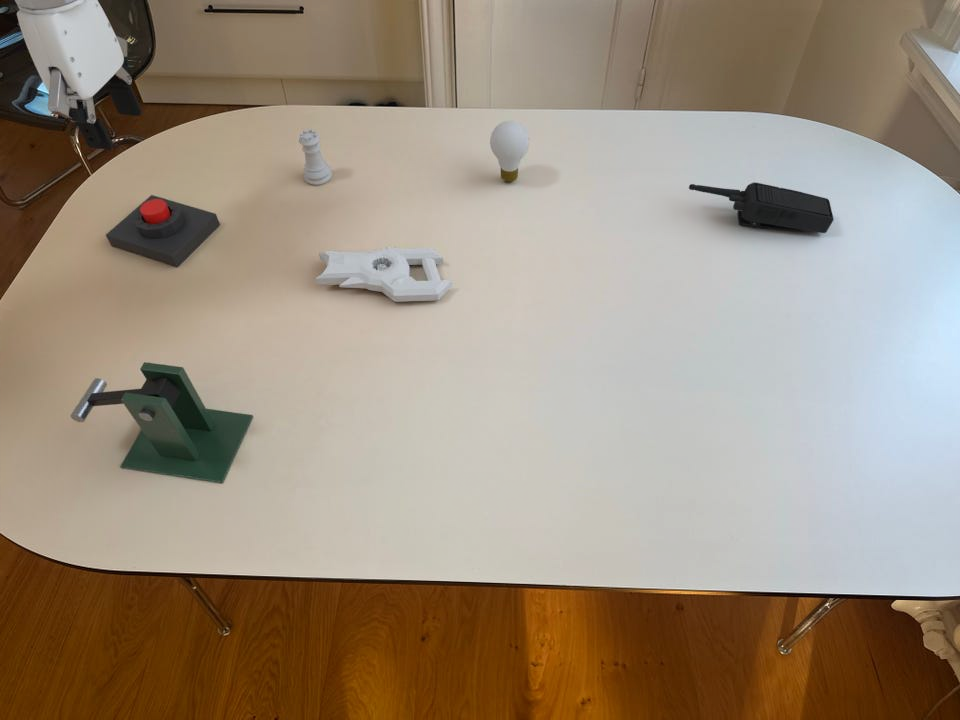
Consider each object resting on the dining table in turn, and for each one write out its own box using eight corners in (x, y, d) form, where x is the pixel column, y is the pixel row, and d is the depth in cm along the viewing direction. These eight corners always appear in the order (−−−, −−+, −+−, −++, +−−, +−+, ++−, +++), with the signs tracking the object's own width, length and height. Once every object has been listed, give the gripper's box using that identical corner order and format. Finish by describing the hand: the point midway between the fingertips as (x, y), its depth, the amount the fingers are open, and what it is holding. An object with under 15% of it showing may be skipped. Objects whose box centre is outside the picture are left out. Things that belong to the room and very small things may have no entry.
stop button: (139, 221, 101) (134, 211, 100) (156, 206, 103) (151, 196, 102) (159, 227, 100) (154, 217, 99) (175, 212, 102) (171, 202, 101)
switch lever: (80, 425, 76) (63, 412, 75) (103, 389, 79) (88, 375, 78) (165, 419, 72) (150, 405, 70) (187, 381, 75) (172, 366, 73)
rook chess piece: (299, 183, 112) (287, 139, 105) (312, 167, 114) (301, 123, 108) (324, 188, 111) (314, 144, 104) (337, 172, 113) (328, 128, 107)
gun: (312, 291, 91) (317, 241, 97) (316, 310, 93) (321, 259, 100) (453, 287, 92) (449, 238, 99) (453, 306, 95) (449, 256, 101)
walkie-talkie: (832, 236, 98) (689, 212, 99) (814, 239, 104) (680, 216, 105) (842, 191, 97) (698, 168, 98) (824, 197, 103) (688, 175, 104)
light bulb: (510, 164, 114) (511, 108, 106) (535, 181, 111) (538, 125, 103) (482, 179, 111) (481, 122, 104) (507, 197, 108) (508, 140, 101)
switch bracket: (124, 472, 79) (75, 411, 70) (160, 407, 84) (119, 343, 75) (225, 487, 77) (188, 427, 68) (255, 420, 83) (225, 356, 74)
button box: (111, 246, 103) (99, 225, 100) (156, 206, 109) (146, 184, 106) (177, 267, 100) (167, 246, 97) (220, 225, 105) (212, 203, 102)
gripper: (60, -49, 83) (123, 92, 96) (-33, 20, 72) (53, 168, 86) (119, -45, 82) (174, 96, 95) (34, 25, 71) (109, 173, 85)
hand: (116, 129), depth 90 cm, fingers open, 6 cm apart
